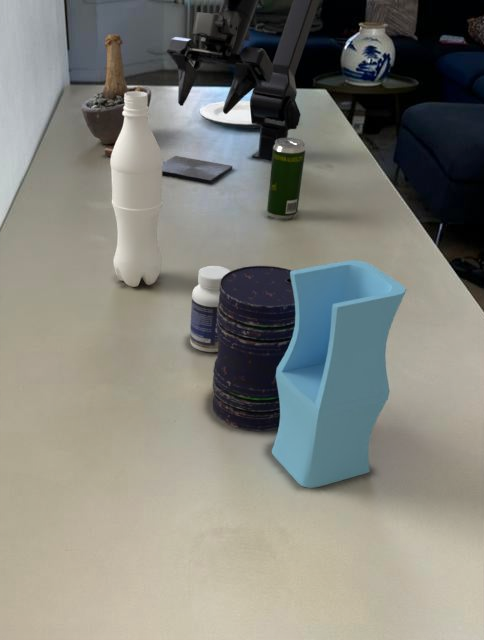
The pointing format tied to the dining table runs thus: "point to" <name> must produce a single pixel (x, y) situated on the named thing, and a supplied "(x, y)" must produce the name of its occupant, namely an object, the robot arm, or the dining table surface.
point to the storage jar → (252, 345)
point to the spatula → (190, 168)
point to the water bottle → (137, 194)
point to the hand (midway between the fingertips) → (202, 108)
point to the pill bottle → (206, 309)
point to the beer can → (285, 178)
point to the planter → (110, 97)
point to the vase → (334, 370)
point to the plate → (229, 115)
